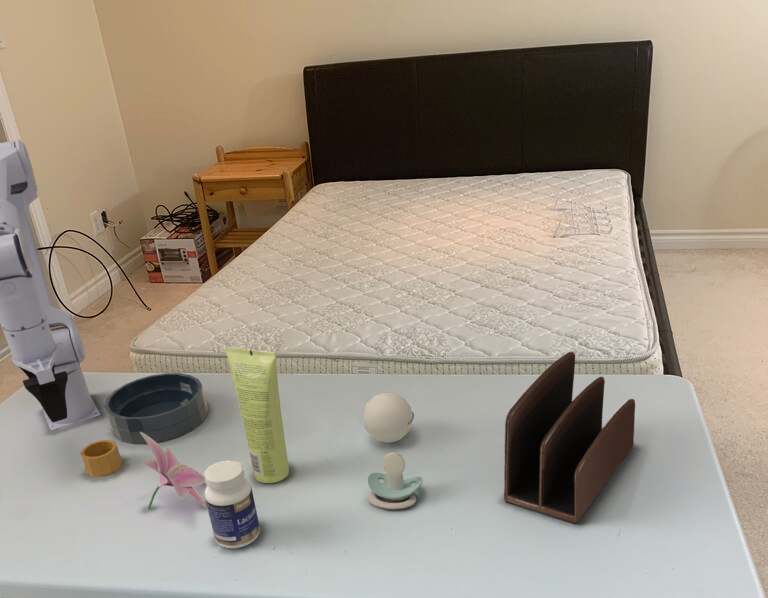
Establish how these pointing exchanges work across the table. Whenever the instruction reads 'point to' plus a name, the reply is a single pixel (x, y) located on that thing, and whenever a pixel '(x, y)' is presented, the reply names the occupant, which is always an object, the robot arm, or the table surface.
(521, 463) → the letter holder
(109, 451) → the ring
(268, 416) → the tube
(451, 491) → the table surface
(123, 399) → the bowl
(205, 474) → the pill bottle
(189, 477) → the lily
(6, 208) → the robot arm
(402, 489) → the pacifier
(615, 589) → the table surface
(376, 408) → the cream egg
